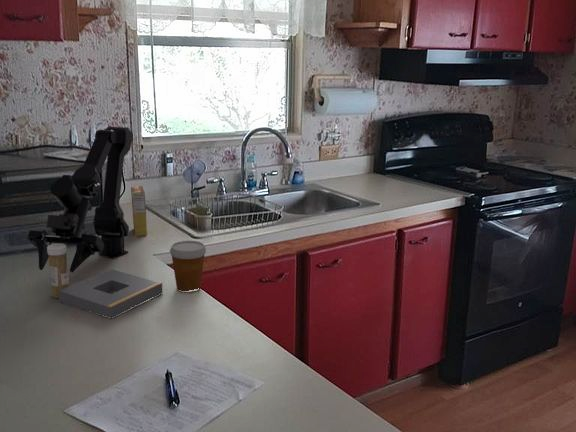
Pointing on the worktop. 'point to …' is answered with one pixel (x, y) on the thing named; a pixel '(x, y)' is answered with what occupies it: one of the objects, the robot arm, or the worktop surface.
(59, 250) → the amber pill bottle
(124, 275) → the socket plate
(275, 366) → the worktop surface
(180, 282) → the disposable coffee cup
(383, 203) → the worktop surface
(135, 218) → the candy box
